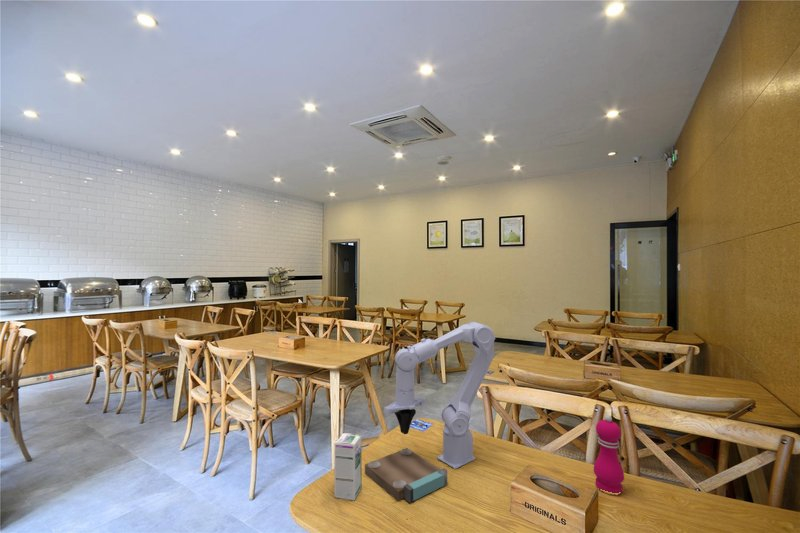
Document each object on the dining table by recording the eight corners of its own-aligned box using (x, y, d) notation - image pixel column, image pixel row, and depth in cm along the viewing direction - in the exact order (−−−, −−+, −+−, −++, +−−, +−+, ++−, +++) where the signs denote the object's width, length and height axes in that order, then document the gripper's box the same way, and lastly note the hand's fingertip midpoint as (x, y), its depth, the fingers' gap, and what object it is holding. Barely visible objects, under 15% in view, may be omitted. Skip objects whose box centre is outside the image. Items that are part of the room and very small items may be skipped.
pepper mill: (626, 488, 95) (626, 415, 96) (621, 500, 90) (620, 423, 90) (597, 477, 100) (597, 408, 101) (590, 488, 95) (590, 415, 95)
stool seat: (406, 455, 111) (406, 447, 111) (442, 479, 99) (442, 469, 99) (364, 473, 101) (364, 463, 101) (398, 501, 89) (398, 490, 89)
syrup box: (354, 501, 89) (355, 444, 89) (333, 498, 90) (334, 441, 90) (361, 487, 94) (362, 434, 95) (341, 485, 95) (342, 432, 96)
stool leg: (442, 478, 98) (442, 467, 98) (449, 483, 96) (449, 471, 96) (403, 497, 90) (403, 485, 90) (409, 503, 88) (409, 490, 88)
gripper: (394, 397, 100) (393, 444, 99) (430, 387, 109) (430, 431, 108) (380, 390, 105) (379, 435, 105) (416, 381, 114) (415, 423, 114)
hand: (404, 432), depth 107 cm, fingers closed
